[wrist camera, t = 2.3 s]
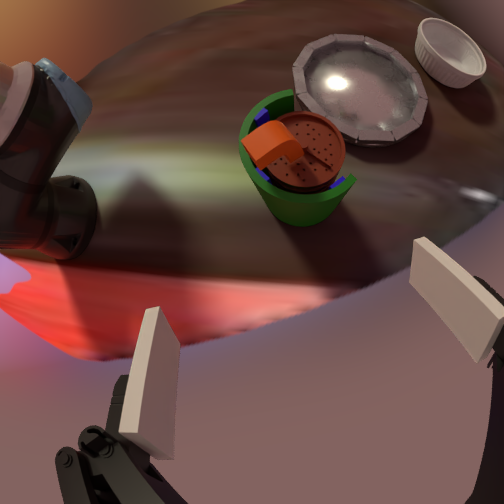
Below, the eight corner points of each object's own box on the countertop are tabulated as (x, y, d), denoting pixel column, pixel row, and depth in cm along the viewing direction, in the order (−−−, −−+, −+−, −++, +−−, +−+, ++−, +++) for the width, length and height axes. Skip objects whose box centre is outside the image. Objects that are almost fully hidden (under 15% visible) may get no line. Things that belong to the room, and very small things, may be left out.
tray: (302, 148, 35) (301, 141, 33) (288, 45, 36) (287, 35, 33) (433, 150, 32) (440, 144, 29) (400, 49, 32) (404, 40, 30)
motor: (348, 195, 34) (397, 134, 15) (301, 243, 35) (302, 229, 16) (294, 144, 36) (284, 47, 16) (247, 188, 37) (192, 123, 17)
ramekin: (472, 107, 30) (491, 89, 23) (407, 74, 32) (420, 50, 26) (467, 59, 30) (481, 40, 23) (409, 30, 32) (418, 7, 25)
